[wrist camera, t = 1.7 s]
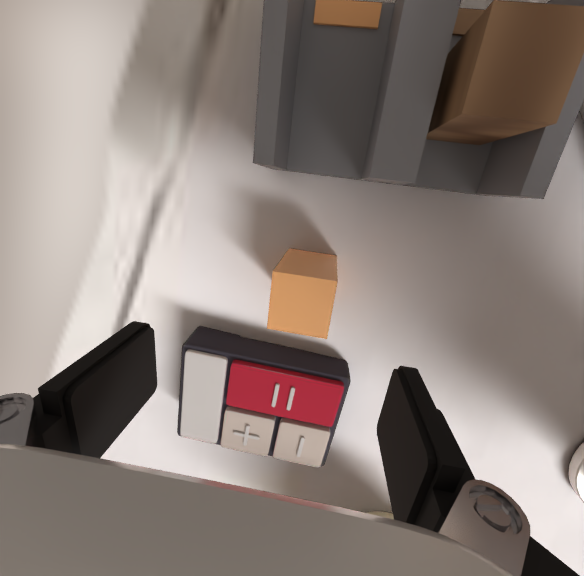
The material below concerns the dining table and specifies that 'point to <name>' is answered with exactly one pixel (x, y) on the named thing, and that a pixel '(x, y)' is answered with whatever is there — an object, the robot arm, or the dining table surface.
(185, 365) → the calculator
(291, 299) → the tan tall block
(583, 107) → the banded white column
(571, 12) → the walnut plug
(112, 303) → the dining table surface
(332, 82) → the grey slotted rack
